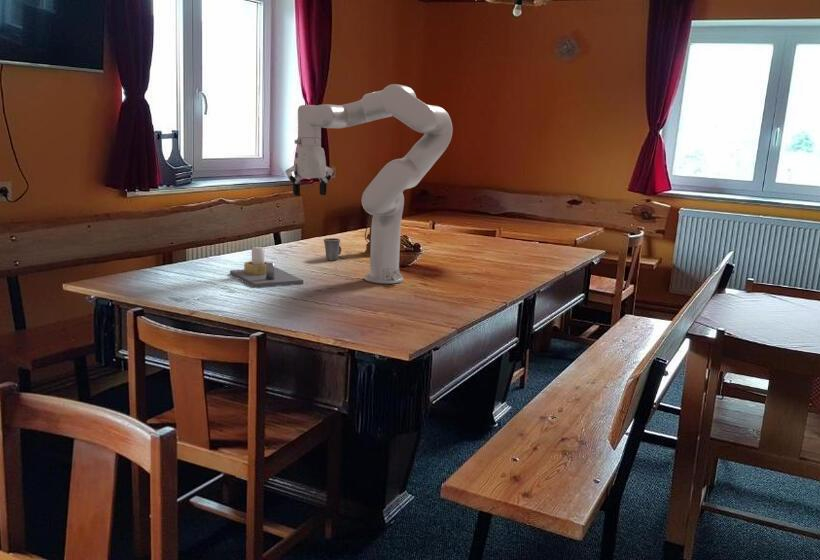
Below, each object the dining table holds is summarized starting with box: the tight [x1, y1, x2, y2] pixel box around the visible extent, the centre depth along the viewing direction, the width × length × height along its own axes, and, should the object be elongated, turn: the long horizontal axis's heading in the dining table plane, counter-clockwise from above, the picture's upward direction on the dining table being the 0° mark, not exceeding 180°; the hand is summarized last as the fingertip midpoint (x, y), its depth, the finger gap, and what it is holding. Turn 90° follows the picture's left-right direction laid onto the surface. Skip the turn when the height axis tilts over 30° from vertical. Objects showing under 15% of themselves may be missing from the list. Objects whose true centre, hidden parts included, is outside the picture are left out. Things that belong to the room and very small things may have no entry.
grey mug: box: [323, 237, 342, 262], centre depth 278 cm, size 6×13×8 cm, turn 172°
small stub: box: [266, 261, 276, 280], centre depth 232 cm, size 3×3×5 cm
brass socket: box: [243, 260, 269, 275], centre depth 241 cm, size 8×8×3 cm
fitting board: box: [229, 266, 304, 288], centre depth 238 cm, size 22×16×1 cm
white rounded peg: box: [251, 246, 265, 265], centre depth 241 cm, size 4×4×8 cm
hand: (309, 195), depth 249 cm, fingers open, 9 cm apart
